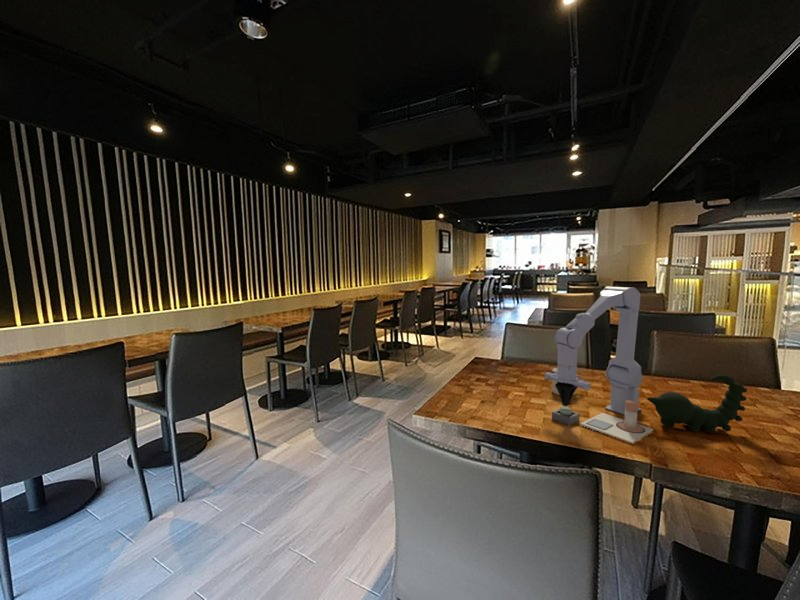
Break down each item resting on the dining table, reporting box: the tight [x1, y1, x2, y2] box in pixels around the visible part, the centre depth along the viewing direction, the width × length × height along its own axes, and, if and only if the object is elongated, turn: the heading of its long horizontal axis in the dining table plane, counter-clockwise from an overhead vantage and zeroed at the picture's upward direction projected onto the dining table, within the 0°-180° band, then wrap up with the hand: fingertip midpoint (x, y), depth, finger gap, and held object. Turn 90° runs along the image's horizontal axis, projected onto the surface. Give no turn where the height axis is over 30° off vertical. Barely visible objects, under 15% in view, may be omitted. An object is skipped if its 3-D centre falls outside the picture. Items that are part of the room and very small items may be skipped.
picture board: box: [579, 412, 654, 443], centre depth 107 cm, size 14×15×1 cm
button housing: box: [551, 408, 580, 426], centre depth 114 cm, size 6×6×2 cm
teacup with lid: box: [551, 367, 583, 397], centre depth 139 cm, size 12×9×12 cm
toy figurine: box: [646, 374, 748, 434], centre depth 106 cm, size 9×19×25 cm
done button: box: [559, 405, 573, 417], centre depth 114 cm, size 4×4×2 cm
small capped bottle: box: [623, 400, 639, 430], centre depth 106 cm, size 3×3×8 cm
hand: (565, 404), depth 113 cm, fingers closed
